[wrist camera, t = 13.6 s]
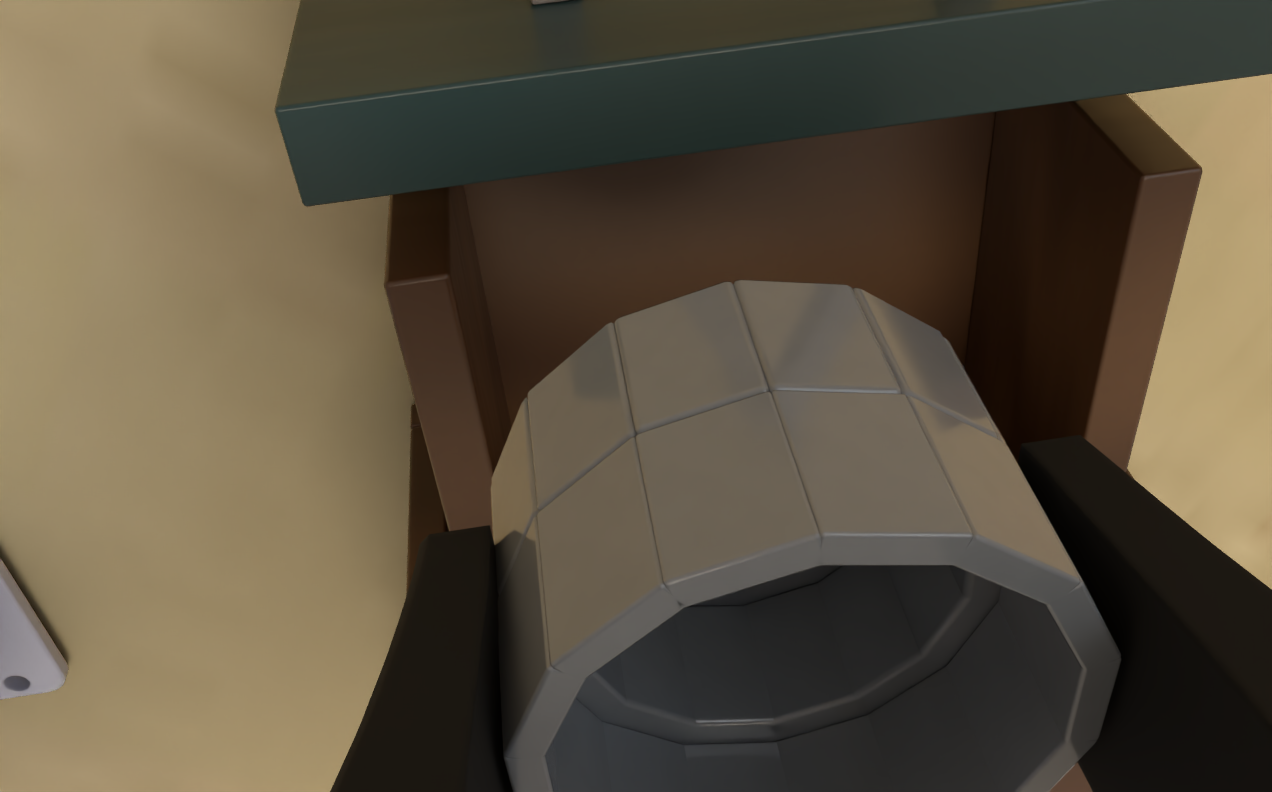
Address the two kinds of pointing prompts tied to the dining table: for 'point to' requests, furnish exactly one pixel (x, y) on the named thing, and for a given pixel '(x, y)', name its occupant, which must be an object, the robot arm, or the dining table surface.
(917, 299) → the drawer
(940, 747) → the grey plastic pail
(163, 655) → the dining table surface
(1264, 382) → the dining table surface
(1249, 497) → the dining table surface
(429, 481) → the cabinet
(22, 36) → the dining table surface
